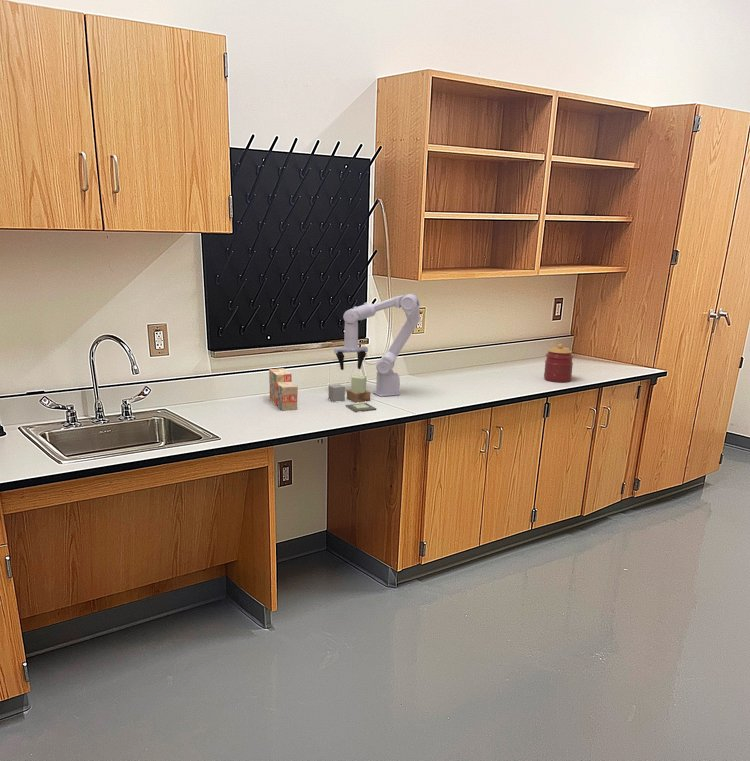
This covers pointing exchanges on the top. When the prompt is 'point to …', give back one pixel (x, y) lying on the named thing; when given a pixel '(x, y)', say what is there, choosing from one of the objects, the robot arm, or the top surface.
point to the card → (360, 407)
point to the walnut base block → (358, 396)
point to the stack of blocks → (283, 389)
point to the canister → (558, 364)
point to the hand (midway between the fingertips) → (350, 369)
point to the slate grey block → (336, 393)
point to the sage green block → (358, 384)
